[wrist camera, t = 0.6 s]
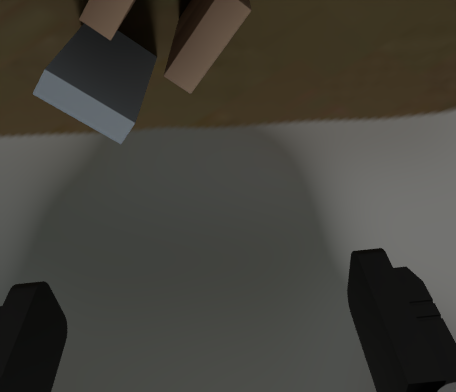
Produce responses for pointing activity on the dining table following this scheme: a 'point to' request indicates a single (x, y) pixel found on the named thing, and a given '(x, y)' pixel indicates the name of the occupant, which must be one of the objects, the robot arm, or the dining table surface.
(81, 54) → the slate domino
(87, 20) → the walnut domino
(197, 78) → the walnut domino
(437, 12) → the dining table surface
